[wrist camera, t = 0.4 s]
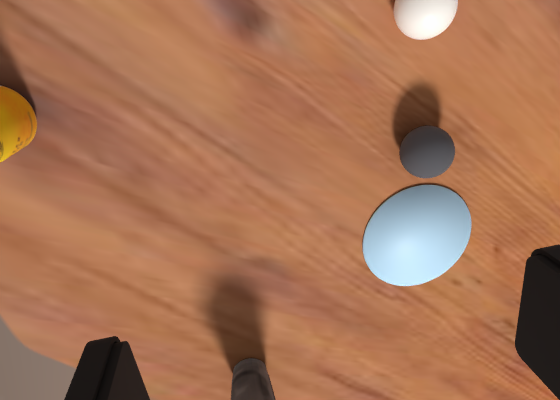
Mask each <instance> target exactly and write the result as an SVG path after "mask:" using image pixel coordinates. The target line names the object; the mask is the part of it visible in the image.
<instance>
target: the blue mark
mask: <svg viewBox="0 0 560 400" xmlns="http://www.w3.org/2000/svg"><path fill="white" fill-rule="evenodd" d="M470 233H471V217H470V212H469V210H468V207H467V205H466V204H465V202H464V201H463V200H462V198H461V197H460V196H458V195H457V194H456V193H455V192H453V191H451V190H450V189H447V188H445V187H442V186H438V185H419V186H414V187H410V188H407V189H405V190H402V191H400V192H398V193H396V194H395V195H393V196H392V197H390V198H389V199H387V200H386V201H385V202H384V203H383V204H382V205H381V206H380V207H379V208H378V209H377V210H376V211H375V213H374V214H373V216H372V217H371V219H370V221H369V222H368V225H367V227H366V229H365V233H364V237H363V254H364V258H365V261H366V263H367V265H368V267H369V268H370V270H371V271H372V272H373V273H374V274H375V275H376V276H377V277H378V278H380V279H381V280H383V281H385V282H387V283H390V284H393V285H399V286H412V285H418V284H422V283H425V282H428V281H430V280H433V279H435V278H436V277H438V276H440V275H441V274H443V273H444V272H446V271H447V270H448V269H449V268H450V267H451V266H453V265H454V264H455V262H456V261H457V260H458V259H459V258H460V256H461V255H462V253H463V252H464V250H465V248H466V246H467V243H468V241H469V237H470Z"/></svg>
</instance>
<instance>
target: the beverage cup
mask: <svg viewBox="0 0 560 400" xmlns="http://www.w3.org/2000/svg"><path fill="white" fill-rule="evenodd" d="M231 400H275V396H274V392H273V389H272V385H271V381H270V378H269V375H268V372H267V370H266V366H265V364H264V363H263V362H262V361H261V360H258V359H254V358H250V359H245V360H242V361H240V362H239V363H238V364H237V365H236V366H235V367H234V370H233V379H232V390H231Z"/></svg>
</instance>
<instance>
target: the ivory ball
mask: <svg viewBox="0 0 560 400" xmlns="http://www.w3.org/2000/svg"><path fill="white" fill-rule="evenodd" d="M457 5H458V0H395V4H394V18H395V21H396V24H397V26H398V28H399V29H400V30H401V31H402V32H403V33H404V34H405V35H407V36H408V37H410V38H413V39H418V40H423V39H429V38H432V37H435V36H437V35H439V34H440V33H442V32H443V31H444V30H445V29H446V28H447V27H448V26H449V25H450V23H451V22H452V20H453V18H454V16H455V14H456V11H457Z"/></svg>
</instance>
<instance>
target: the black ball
mask: <svg viewBox="0 0 560 400" xmlns="http://www.w3.org/2000/svg"><path fill="white" fill-rule="evenodd" d="M454 155H455V147H454V143H453V140H452V139H451V137H450V136H449V134H448V133H447V132H445V131H444V130H442V129H441V128H438V127H435V126H422V127H418V128H416V129H414V130H412V131H411V132H409V133H408V134H407V135H406V136H405V138H404V139H403V141H402V143H401V146H400V160H401V163H402V165H403V166H404V168H405V169H406V170H407V171H408V172H409V173H411V174H412V175H414V176H416V177H420V178H432V177H436V176H438V175H440V174H442V173H443V172H445V171H446V170H447V169H448V168H449V167H450V165H451V164H452V162H453V159H454Z"/></svg>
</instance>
